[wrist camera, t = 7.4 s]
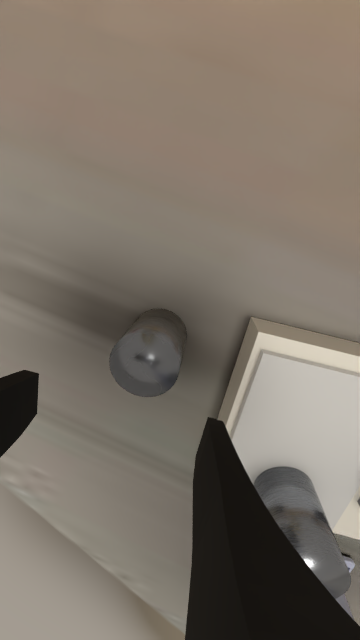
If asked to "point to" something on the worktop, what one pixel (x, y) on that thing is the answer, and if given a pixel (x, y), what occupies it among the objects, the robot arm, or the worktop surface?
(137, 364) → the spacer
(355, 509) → the kitchen scale
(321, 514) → the cylinder
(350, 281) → the worktop surface
